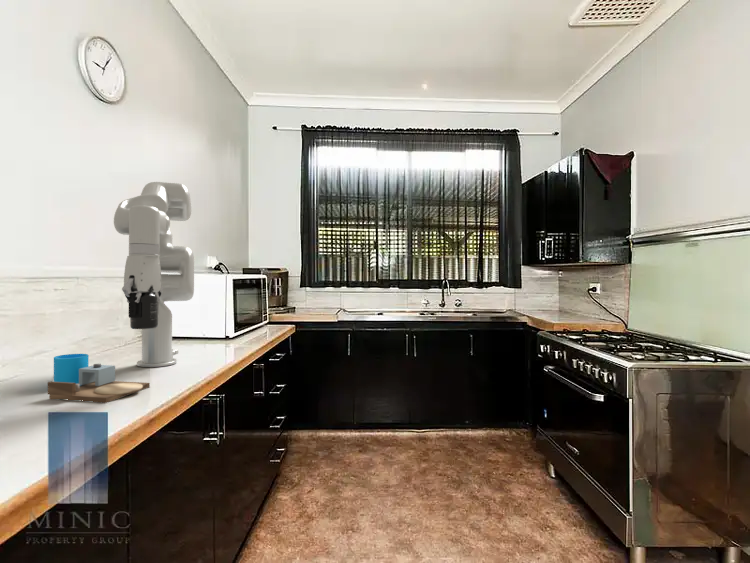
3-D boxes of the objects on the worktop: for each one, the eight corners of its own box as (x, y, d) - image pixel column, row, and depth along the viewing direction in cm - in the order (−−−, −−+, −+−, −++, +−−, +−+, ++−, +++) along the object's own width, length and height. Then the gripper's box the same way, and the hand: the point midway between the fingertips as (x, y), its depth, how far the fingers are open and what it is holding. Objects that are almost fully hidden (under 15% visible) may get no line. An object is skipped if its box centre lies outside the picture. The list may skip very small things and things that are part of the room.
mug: (81, 387, 125) (81, 358, 124) (47, 389, 123) (48, 359, 123) (97, 378, 136) (97, 351, 136) (67, 379, 134) (67, 351, 134)
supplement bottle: (152, 326, 128) (152, 284, 128) (162, 328, 123) (162, 284, 124) (126, 328, 123) (126, 284, 123) (135, 329, 118) (135, 284, 119)
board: (97, 384, 128) (97, 369, 128) (157, 387, 125) (157, 372, 125) (47, 399, 112) (47, 382, 112) (115, 403, 109) (115, 386, 109)
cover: (96, 379, 127) (96, 361, 127) (115, 380, 126) (115, 362, 126) (78, 384, 121) (78, 365, 121) (98, 385, 120) (98, 366, 120)
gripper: (151, 253, 132) (151, 314, 132) (109, 249, 115) (108, 318, 115) (175, 253, 131) (174, 314, 131) (136, 249, 114) (135, 319, 114)
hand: (143, 316), depth 123 cm, fingers closed on supplement bottle, 6 cm apart
